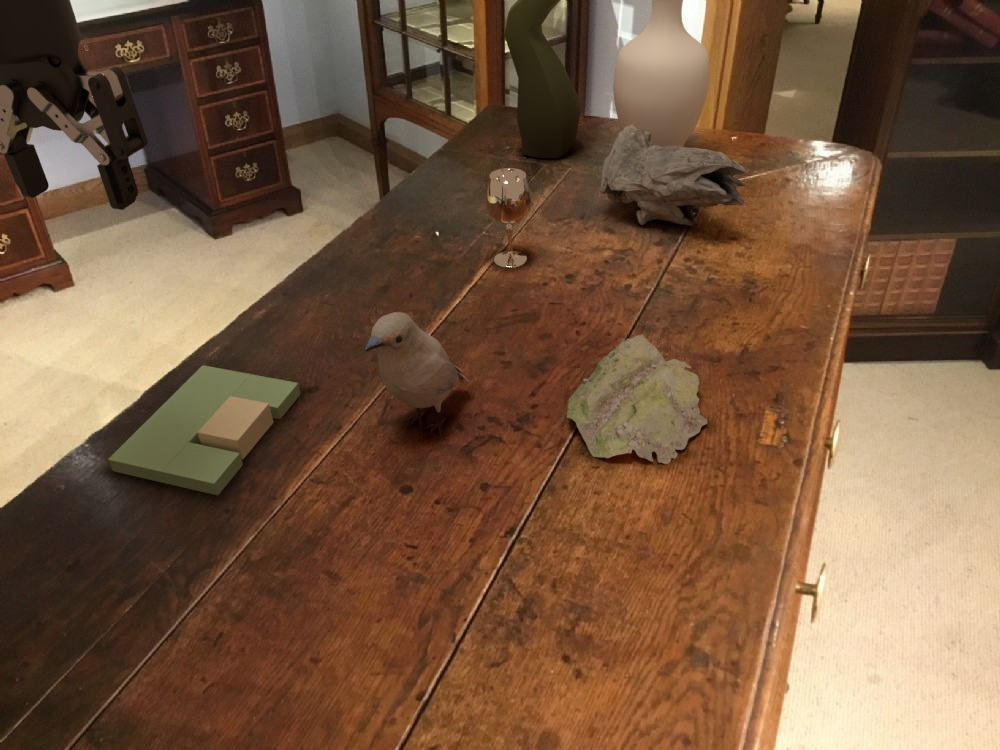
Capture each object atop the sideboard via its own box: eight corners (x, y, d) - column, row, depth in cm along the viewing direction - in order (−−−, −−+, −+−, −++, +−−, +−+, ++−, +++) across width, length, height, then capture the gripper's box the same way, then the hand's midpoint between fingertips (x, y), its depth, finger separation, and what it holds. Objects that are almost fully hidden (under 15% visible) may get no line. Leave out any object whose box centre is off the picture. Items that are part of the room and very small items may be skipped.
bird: (363, 453, 84) (341, 327, 75) (446, 383, 93) (435, 262, 84) (401, 472, 82) (383, 344, 73) (483, 398, 91) (475, 275, 82)
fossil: (724, 278, 119) (788, 187, 111) (618, 244, 112) (679, 143, 104) (674, 206, 134) (727, 120, 126) (578, 171, 127) (628, 78, 119)
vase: (597, 152, 142) (604, -30, 125) (678, 141, 145) (695, -38, 128) (628, 187, 131) (640, -8, 114) (714, 175, 133) (739, -17, 117)
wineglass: (517, 274, 111) (514, 188, 104) (480, 263, 114) (476, 179, 106) (539, 255, 115) (539, 171, 108) (504, 245, 118) (501, 163, 110)
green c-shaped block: (218, 495, 80) (214, 483, 79) (112, 471, 83) (107, 459, 82) (301, 394, 92) (298, 382, 91) (206, 376, 95) (202, 365, 94)
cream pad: (243, 460, 84) (237, 440, 82) (203, 451, 85) (196, 432, 84) (274, 422, 89) (269, 403, 87) (235, 414, 90) (230, 395, 88)
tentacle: (570, 164, 139) (573, -36, 121) (499, 156, 142) (492, -40, 124) (585, 144, 145) (590, -49, 127) (518, 136, 149) (513, -52, 131)
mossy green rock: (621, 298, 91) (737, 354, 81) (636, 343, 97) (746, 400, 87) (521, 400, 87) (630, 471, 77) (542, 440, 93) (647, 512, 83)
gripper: (-126, -13, 57) (-27, 210, 67) (46, -4, 53) (124, 231, 63) (-37, -37, 62) (42, 171, 72) (124, -30, 59) (185, 189, 68)
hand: (80, 199), depth 67 cm, fingers open, 8 cm apart
